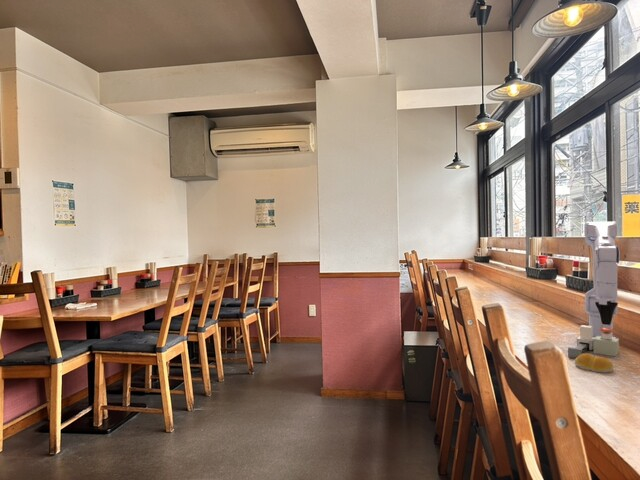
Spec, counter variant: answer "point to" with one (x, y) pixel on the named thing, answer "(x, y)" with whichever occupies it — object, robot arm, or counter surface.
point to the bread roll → (594, 363)
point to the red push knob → (606, 333)
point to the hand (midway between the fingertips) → (606, 324)
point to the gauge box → (606, 346)
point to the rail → (578, 350)
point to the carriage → (586, 336)
